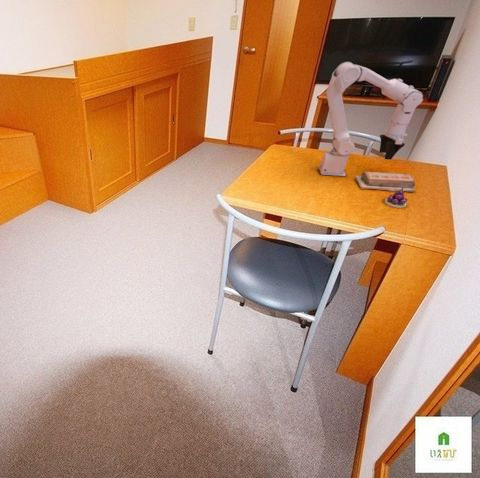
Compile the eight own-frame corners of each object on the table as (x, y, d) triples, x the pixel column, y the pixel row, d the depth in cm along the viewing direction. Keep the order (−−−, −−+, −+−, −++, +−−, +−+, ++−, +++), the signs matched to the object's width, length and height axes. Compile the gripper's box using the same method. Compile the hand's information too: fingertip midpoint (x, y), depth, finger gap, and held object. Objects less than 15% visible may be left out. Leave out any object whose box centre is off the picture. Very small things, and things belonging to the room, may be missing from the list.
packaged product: (410, 171, 128) (420, 181, 121) (404, 182, 131) (414, 193, 123) (358, 168, 133) (365, 178, 126) (354, 178, 136) (360, 189, 129)
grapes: (387, 206, 117) (395, 190, 113) (382, 198, 121) (389, 182, 118) (408, 208, 115) (417, 192, 111) (402, 200, 119) (410, 184, 116)
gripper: (418, 128, 119) (402, 162, 127) (405, 117, 130) (391, 150, 138) (396, 127, 121) (381, 161, 129) (384, 117, 132) (371, 149, 140)
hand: (385, 155), depth 133 cm, fingers open, 7 cm apart
